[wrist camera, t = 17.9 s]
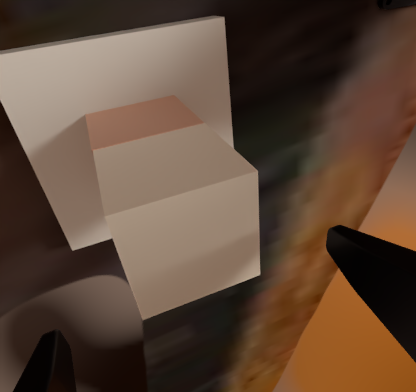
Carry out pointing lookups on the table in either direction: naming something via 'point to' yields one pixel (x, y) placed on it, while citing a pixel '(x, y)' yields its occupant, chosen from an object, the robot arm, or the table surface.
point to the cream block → (180, 215)
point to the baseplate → (106, 102)
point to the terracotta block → (138, 121)
